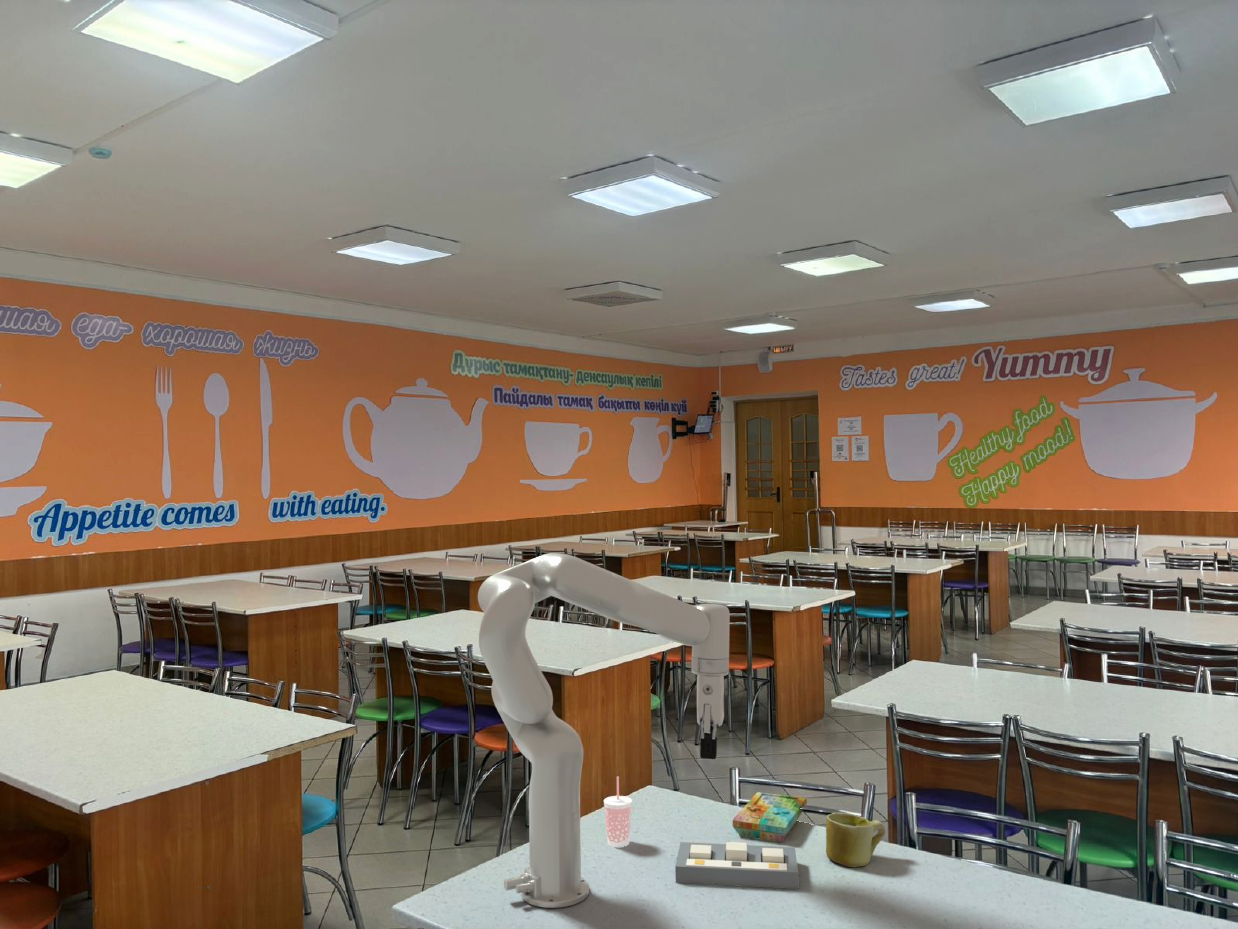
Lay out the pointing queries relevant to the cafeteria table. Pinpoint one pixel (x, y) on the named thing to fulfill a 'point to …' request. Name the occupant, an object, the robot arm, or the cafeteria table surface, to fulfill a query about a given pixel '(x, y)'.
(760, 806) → the puzzle game
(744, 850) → the button middle
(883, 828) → the mug
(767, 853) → the button right
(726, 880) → the button board
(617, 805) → the beverage cup
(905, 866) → the cafeteria table surface
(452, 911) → the cafeteria table surface
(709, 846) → the button left
